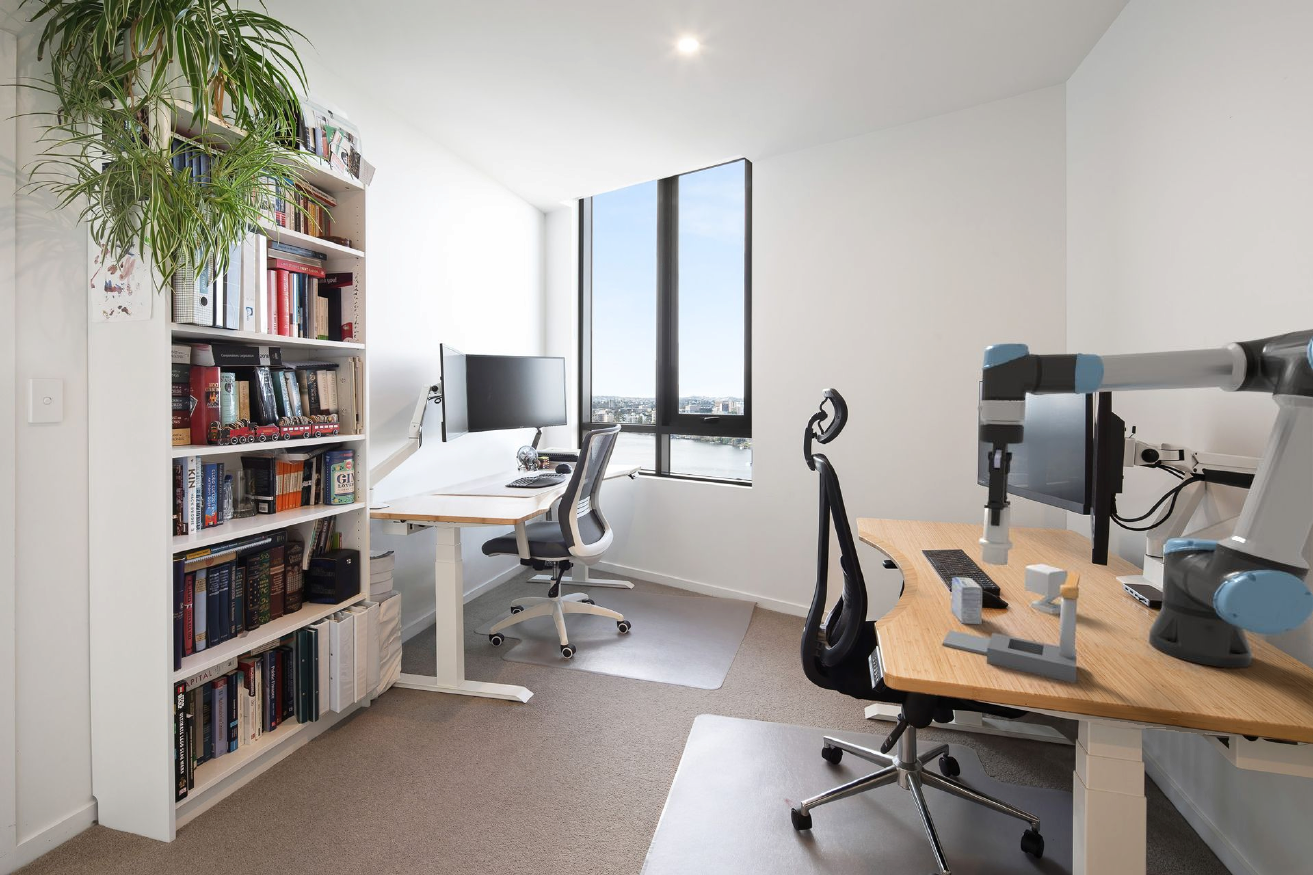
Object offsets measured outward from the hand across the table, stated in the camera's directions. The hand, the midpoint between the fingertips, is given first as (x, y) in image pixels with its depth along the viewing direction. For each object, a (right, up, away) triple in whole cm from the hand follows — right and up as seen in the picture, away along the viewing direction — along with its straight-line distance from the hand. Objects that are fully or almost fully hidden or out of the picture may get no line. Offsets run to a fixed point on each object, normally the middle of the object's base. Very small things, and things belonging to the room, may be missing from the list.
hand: (995, 538), depth 116 cm
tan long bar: (+13, -11, -3) cm, 17 cm away
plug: (0, -5, 0) cm, 5 cm away
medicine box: (+5, -22, +20) cm, 30 cm away
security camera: (+28, -22, +26) cm, 44 cm away
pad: (-3, -23, +5) cm, 24 cm away
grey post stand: (+4, -23, -4) cm, 24 cm away
